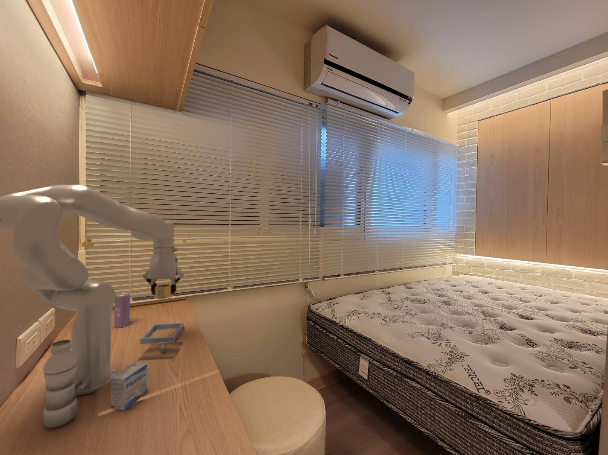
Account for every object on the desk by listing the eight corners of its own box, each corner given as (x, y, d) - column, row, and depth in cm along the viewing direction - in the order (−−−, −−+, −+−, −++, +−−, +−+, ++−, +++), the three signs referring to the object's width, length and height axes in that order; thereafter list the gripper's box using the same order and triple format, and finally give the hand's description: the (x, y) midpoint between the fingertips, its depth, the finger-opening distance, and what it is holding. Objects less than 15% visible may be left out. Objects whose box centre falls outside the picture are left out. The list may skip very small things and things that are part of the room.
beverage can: (132, 323, 125) (133, 292, 124) (122, 328, 119) (123, 296, 118) (121, 322, 125) (121, 292, 125) (110, 327, 119) (111, 295, 119)
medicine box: (124, 411, 69) (124, 379, 68) (110, 408, 70) (110, 377, 69) (147, 392, 76) (148, 363, 76) (134, 390, 77) (135, 361, 77)
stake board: (174, 360, 93) (174, 347, 93) (137, 363, 91) (137, 349, 91) (183, 344, 106) (183, 332, 106) (151, 346, 104) (151, 333, 103)
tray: (173, 344, 105) (174, 337, 105) (139, 346, 103) (140, 338, 103) (183, 329, 120) (183, 323, 120) (154, 330, 117) (154, 324, 117)
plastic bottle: (74, 408, 69) (75, 334, 69) (80, 421, 65) (81, 342, 64) (40, 422, 64) (41, 342, 64) (44, 437, 60) (44, 352, 59)
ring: (169, 298, 105) (169, 287, 105) (152, 299, 104) (152, 288, 103) (177, 291, 115) (176, 281, 115) (161, 291, 114) (161, 281, 114)
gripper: (188, 249, 112) (188, 290, 113) (144, 249, 108) (144, 291, 109) (184, 252, 105) (183, 295, 105) (136, 252, 101) (136, 297, 102)
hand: (163, 293), depth 107 cm, fingers closed on ring, 6 cm apart
